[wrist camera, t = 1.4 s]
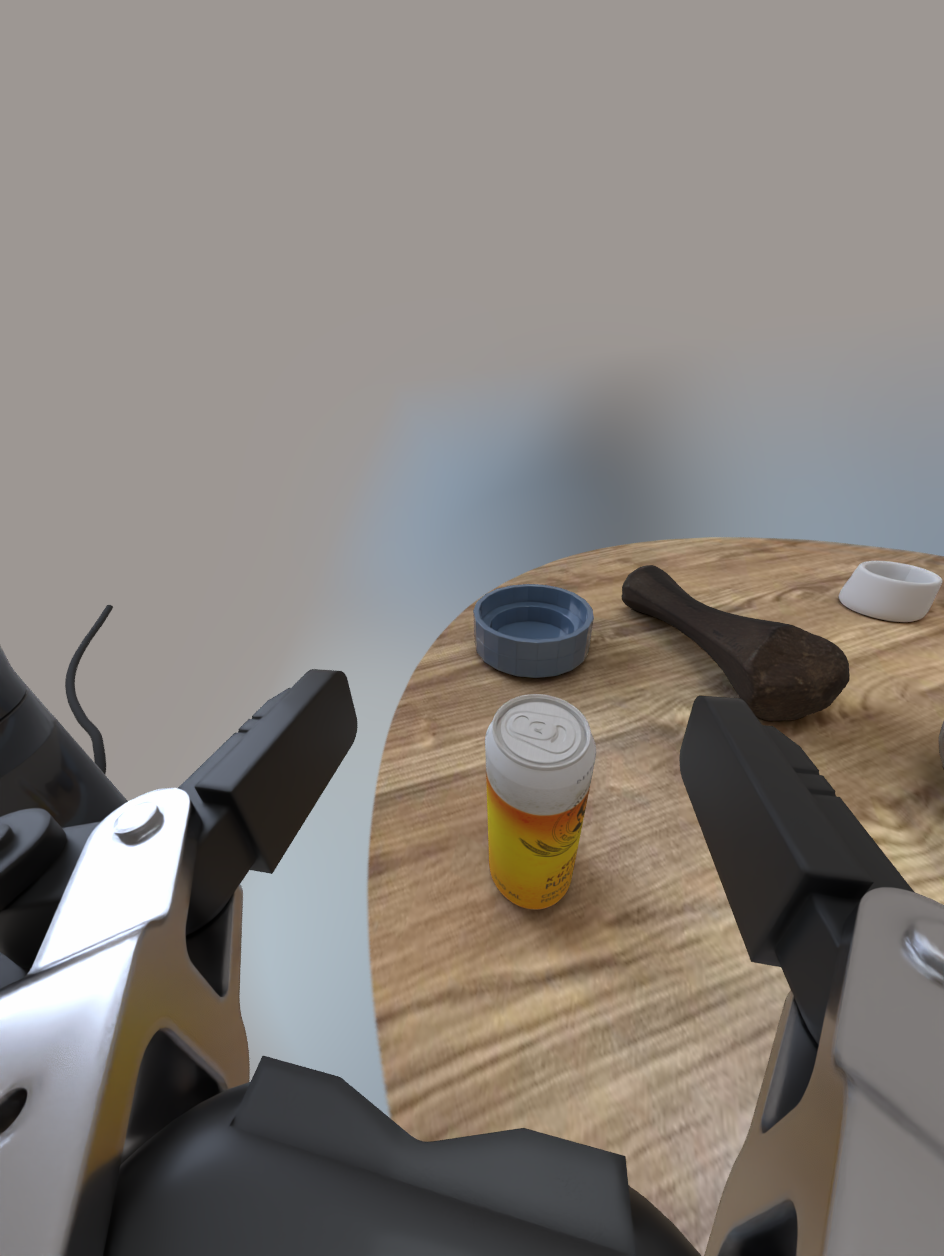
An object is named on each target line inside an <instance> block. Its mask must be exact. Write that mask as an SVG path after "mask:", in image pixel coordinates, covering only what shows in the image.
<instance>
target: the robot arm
mask: <svg viewBox="0 0 944 1256" xmlns="http://www.w3.org/2000/svg"><path fill="white" fill-rule="evenodd" d="M112 608H113V606H111V605H107V606H106V608H105V609H104V611H103V612H102V614H101V616H100V617H99V619H98V620H97V621H96V623H95V624H94V626H93V627H92V628H91V630H90V631H89V633H88V634H87V635H86V636H85V638H84V639H83V641H82V642H81V644H80V646H79V647H78V649H77V650H76V652H75V654H74V655H73V658H72V659H71V662H70V664H69V667H68V670H67V674H66V679H65V688H66V696H67V700H68V703H69V706H70V708H71V710H72V712H73V714H74V716H75V718H76V720H77V722H78V723H79V724H80V725H81V727H82V728H83V729H84V730H85V731H86V732H87V733H88V734H89V736H90V738H91V740H92V745H93V752H94V762H93V761H92V759H91V758H90V757H89V756H88V755H87V754H86V753H85V751H84V750H83V749H82V748H81V747H80V746H79V745H78V743H77V742H76V741H75V740H74V739H73V738H72V737H71V735H70V734H69V733H68V732H67V731H66V730H65V729H64V727H63V726H62V725H61V724H60V723H59V722H58V720H57V719H56V718H55V717H54V716H53V715H52V714H51V713H50V712H49V711H48V709H47V708H46V707H45V706H44V705H43V704H42V702H41V701H40V700H39V699H38V698H37V697H36V696H35V694H34V693H33V692H32V691H31V690H30V689H29V688H28V686H27V685H26V684H25V683H24V682H23V681H22V679H21V678H20V677H19V676H18V675H17V673H16V672H15V671H14V670H13V668H12V667H11V665H10V663H9V661H8V659H7V658H6V656H5V654H4V652H3V650H2V648H1V646H0V952H1V953H0V1256H701V1255H700V1253H699V1252H698V1251H697V1250H696V1249H695V1248H694V1247H693V1245H692V1244H691V1243H690V1242H689V1241H688V1240H687V1239H686V1238H685V1236H684V1235H683V1234H682V1233H681V1232H680V1231H679V1230H678V1228H677V1227H676V1226H675V1225H674V1224H673V1223H672V1222H671V1221H670V1220H669V1219H668V1218H667V1217H666V1216H664V1215H663V1214H662V1213H661V1212H660V1211H659V1210H658V1209H657V1208H656V1207H655V1206H654V1205H653V1204H652V1203H650V1202H649V1201H648V1200H647V1199H646V1198H645V1197H644V1196H642V1195H641V1194H639V1193H638V1192H637V1191H635V1190H634V1189H633V1188H631V1187H630V1186H629V1185H628V1178H627V1168H626V1159H625V1156H623V1155H619V1154H615V1153H612V1152H608V1151H605V1150H601V1149H597V1148H594V1147H590V1146H587V1145H583V1144H579V1143H576V1142H572V1141H569V1140H565V1139H561V1138H558V1137H554V1136H551V1135H547V1134H543V1133H540V1132H536V1131H533V1130H529V1129H525V1128H520V1129H514V1130H507V1131H500V1132H494V1133H487V1134H480V1135H473V1136H467V1137H460V1138H453V1139H447V1140H440V1141H433V1142H423V1141H420V1140H417V1139H415V1138H414V1137H412V1136H411V1135H409V1134H408V1133H407V1132H406V1131H405V1130H403V1129H402V1128H401V1127H400V1126H399V1125H397V1124H396V1123H395V1122H394V1121H393V1120H391V1119H390V1118H389V1117H388V1116H386V1115H385V1114H384V1113H383V1112H382V1111H380V1110H379V1109H378V1108H377V1107H376V1106H374V1105H373V1104H372V1103H371V1102H370V1101H368V1100H367V1099H366V1098H365V1097H364V1096H362V1095H361V1094H360V1093H359V1092H357V1091H356V1090H355V1089H354V1088H353V1087H352V1086H350V1085H349V1084H348V1083H347V1082H345V1081H344V1080H343V1079H342V1078H340V1077H338V1076H334V1075H331V1074H327V1073H324V1072H320V1071H316V1070H313V1069H309V1068H306V1067H302V1066H298V1065H295V1064H291V1063H288V1062H284V1061H280V1060H277V1059H273V1058H270V1057H266V1056H262V1058H261V1061H260V1063H259V1065H258V1067H257V1070H256V1072H255V1074H254V1076H253V1078H252V1080H251V1082H249V1050H248V1042H247V1036H246V1032H245V1027H244V1024H243V1021H242V1017H241V1012H240V1003H239V1001H240V1000H239V992H240V991H239V990H240V964H241V936H242V935H241V934H242V908H243V907H242V905H243V890H242V887H241V885H240V883H241V881H242V880H243V879H244V877H245V876H246V874H247V873H248V871H249V870H254V871H260V872H266V873H271V874H272V873H273V872H274V870H275V868H276V867H277V865H278V863H279V862H280V860H281V859H282V857H283V855H284V854H285V852H286V851H287V849H288V847H289V846H290V844H291V843H292V841H293V839H294V837H295V836H296V835H297V833H298V831H299V830H300V828H301V826H302V825H303V823H304V822H305V820H306V818H307V817H308V815H309V813H310V812H311V810H312V809H313V807H314V806H315V804H316V802H317V801H318V799H319V797H320V795H321V794H322V793H323V791H324V789H325V788H326V786H327V785H328V783H329V781H330V780H331V778H332V777H333V775H334V773H335V772H336V770H337V768H338V767H339V765H340V764H341V762H342V760H343V759H344V757H345V756H346V754H347V752H348V751H349V749H350V748H351V746H352V744H353V742H354V740H355V737H356V733H357V717H356V713H355V709H354V705H353V701H352V697H351V692H350V688H349V684H348V680H347V677H346V675H345V674H344V673H343V672H342V671H332V670H317V669H312V670H309V671H308V672H307V673H306V674H305V675H304V676H303V677H302V678H301V679H300V680H299V681H298V682H297V683H296V684H295V685H294V686H293V687H292V688H288V689H286V690H285V691H283V692H282V693H280V694H278V695H277V696H275V697H273V698H272V699H270V700H268V701H267V702H266V703H265V704H264V705H263V706H262V707H261V708H260V709H259V710H258V711H257V712H256V713H255V714H254V715H253V716H252V719H249V720H248V721H247V722H245V723H244V724H243V726H241V727H240V729H239V731H238V733H234V734H233V735H232V736H231V737H230V738H229V739H228V740H227V741H226V742H225V743H224V744H223V745H222V746H221V747H220V748H219V749H218V750H217V751H216V752H215V753H214V754H213V755H212V756H211V757H210V758H208V759H207V760H206V761H205V762H204V763H203V764H202V765H201V766H200V767H199V768H198V769H197V770H196V771H195V772H194V773H193V774H192V775H191V776H190V777H189V778H188V779H187V780H186V781H185V782H184V783H183V784H182V785H181V786H180V787H178V788H164V789H159V790H155V791H152V792H148V793H146V794H143V795H141V796H139V797H137V798H135V799H133V800H131V801H129V802H128V801H127V800H126V799H125V797H124V796H123V795H122V794H121V793H120V792H119V790H118V789H117V788H116V787H115V786H114V785H113V784H112V782H111V781H110V780H109V779H108V778H107V777H106V776H105V774H106V755H105V749H104V743H103V738H102V735H101V733H100V731H99V730H98V728H97V727H96V726H95V725H94V724H93V723H92V722H91V721H90V720H89V719H88V717H87V716H86V714H85V713H84V711H83V709H82V707H81V706H80V703H79V701H78V699H77V696H76V691H75V676H76V671H77V667H78V664H79V662H80V659H81V657H82V655H83V653H84V652H85V650H86V648H87V647H88V645H89V643H90V641H91V640H92V639H93V637H94V636H95V634H96V633H97V632H98V630H99V629H100V627H101V626H102V624H103V623H104V621H105V620H106V618H107V617H108V615H109V613H110V612H111V610H112ZM680 771H681V775H682V779H683V782H684V785H685V787H686V790H687V793H688V795H689V798H690V801H691V803H692V806H693V809H694V811H695V814H696V816H697V819H698V822H699V824H700V827H701V830H702V832H703V835H704V838H705V840H706V843H707V846H708V848H709V851H710V854H711V856H712V859H713V862H714V864H715V867H716V869H717V872H718V875H719V877H720V880H721V883H722V885H723V888H724V891H725V893H726V896H727V899H728V901H729V904H730V907H731V909H732V912H733V915H734V917H735V920H736V922H737V925H738V928H739V930H740V933H741V936H742V938H743V941H744V944H745V946H746V949H747V952H748V954H749V957H750V960H751V962H755V963H761V964H767V965H772V966H778V967H781V968H782V970H783V972H784V975H785V977H786V979H787V982H788V984H789V986H790V989H791V991H790V992H789V993H788V995H787V997H786V1000H785V1003H784V1007H783V1010H782V1014H781V1017H780V1021H779V1025H778V1028H777V1032H776V1036H775V1039H774V1043H773V1046H772V1050H771V1054H770V1057H769V1061H768V1065H767V1068H766V1072H765V1076H764V1079H763V1083H762V1086H761V1090H760V1094H759V1097H758V1101H757V1105H756V1108H755V1112H754V1115H753V1119H752V1122H751V1126H750V1129H749V1132H748V1135H747V1137H746V1140H745V1142H744V1145H743V1147H742V1149H741V1151H740V1153H739V1155H738V1157H737V1159H736V1161H735V1163H734V1165H733V1167H732V1170H731V1172H730V1174H729V1177H728V1180H727V1182H726V1185H725V1188H724V1191H723V1194H722V1197H721V1200H720V1203H719V1206H718V1210H717V1213H716V1217H715V1220H714V1224H713V1227H712V1231H711V1234H710V1237H709V1241H708V1244H707V1248H706V1251H705V1255H704V1256H944V905H942V904H940V903H938V902H936V901H934V900H932V899H930V898H927V897H925V896H922V895H920V894H917V893H915V892H914V891H913V890H912V888H911V887H910V886H909V885H908V884H907V882H906V881H905V880H904V878H903V877H902V876H901V875H900V873H899V872H898V871H897V870H896V868H895V867H894V866H893V864H892V863H891V862H890V861H889V859H888V858H887V857H886V856H885V854H884V853H883V852H882V850H881V849H880V848H879V847H878V845H877V844H876V843H875V841H874V840H873V839H872V838H871V836H870V835H869V834H868V833H867V831H866V830H865V829H864V827H863V826H862V825H861V824H860V822H859V821H858V820H857V819H856V817H855V816H854V815H853V813H852V812H851V811H850V810H849V808H848V807H847V806H846V804H845V803H844V802H843V801H842V799H841V798H840V797H836V795H835V790H834V789H833V788H832V787H831V785H830V784H829V783H828V782H827V780H826V779H825V778H824V776H822V775H819V770H818V769H817V767H816V766H815V765H814V764H813V762H812V761H811V760H810V759H809V757H808V756H807V755H806V753H805V752H804V751H803V750H802V748H801V747H800V746H799V745H797V744H796V743H795V742H793V741H792V740H791V739H789V738H788V737H787V736H785V735H784V734H783V733H781V732H780V731H779V730H777V729H776V728H775V727H773V726H764V725H762V724H761V723H760V722H759V720H758V719H757V717H756V716H755V715H754V713H753V712H752V710H751V709H750V708H749V706H748V705H747V703H746V702H745V701H744V700H742V699H740V698H727V697H712V696H698V697H697V698H696V699H695V701H694V703H693V707H692V710H691V714H690V717H689V721H688V725H687V728H686V732H685V735H684V739H683V742H682V746H681V750H680Z"/></svg>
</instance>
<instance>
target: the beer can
mask: <svg viewBox="0 0 944 1256" xmlns="http://www.w3.org/2000/svg"><path fill="white" fill-rule="evenodd" d="M485 748H486V779H487V810H488V841H489V867H490V872H491V876H492V878H493V881H494V883H495V885H496V887H497V888H498V890H499V891H500V892H501V893H502V894H503V895H504V896H505V897H506V898H507V899H508V900H509V901H511V902H512V903H514V904H516V905H518V906H520V907H523V908H527V909H535V910H536V909H544V908H547V907H550V906H552V905H554V904H555V903H557V902H558V901H559V900H560V899H561V898H562V897H563V896H564V895H565V894H566V892H567V890H568V888H569V886H570V883H571V879H572V874H573V869H574V864H575V859H576V854H577V849H578V844H579V839H580V834H581V828H582V823H583V818H584V813H585V808H586V803H587V798H588V793H589V788H590V783H591V778H592V773H593V768H594V763H595V758H596V745H595V741H594V738H593V736H592V734H591V730H590V726H589V724H588V722H587V720H586V718H585V717H584V715H583V714H582V713H581V712H580V711H579V710H578V709H577V708H576V707H574V706H573V705H572V704H570V703H568V702H566V701H564V700H562V699H560V698H557V697H553V696H549V695H542V694H529V695H523V696H519V697H516V698H514V699H511V700H509V701H508V702H506V703H505V704H503V705H502V706H501V707H500V708H499V709H498V711H497V712H496V714H495V716H494V718H493V721H492V722H491V724H490V725H489V727H488V730H487V733H486V738H485Z"/></svg>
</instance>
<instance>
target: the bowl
mask: <svg viewBox="0 0 944 1256" xmlns="http://www.w3.org/2000/svg"><path fill="white" fill-rule="evenodd" d="M939 753H940V757H941V761H942V766H943V769H944V721H943V724H942V727H941V731H940V735H939Z"/></svg>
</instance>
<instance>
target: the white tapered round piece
mask: <svg viewBox="0 0 944 1256" xmlns="http://www.w3.org/2000/svg"><path fill="white" fill-rule="evenodd" d="M941 584H942V578H940V577H939V576H938V575H937V574H935V573H933V572H931V571H928V570H925V569H923V568H919V567H916V566H912V565H907V564H902V563H896V562H888V561H868V562H863V563H861V564H860V565H859V566H858V567H857V569H856V570H855V571H854V573H853V574H852V576H851V577H850V578H849V580H848V581H847V582H846V584H845V585H844V586H843V588H842V589H841V591H840V594H839V599H840V601H841V603H842V604H843V605H845V606H846V607H848V608H849V609H851V610H853V611H856V612H858V613H860V614H863V615H866V616H870V617H873V618H877V619H882V620H888V621H894V622H912V621H916V620H919V619H922V618H923V617H924V616H925V615H926V614H927V613H928V611H929V609H930V607H931V605H932V603H933V601H934V599H935V596H936V594H937V592H938V590H939V588H940V586H941Z"/></svg>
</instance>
